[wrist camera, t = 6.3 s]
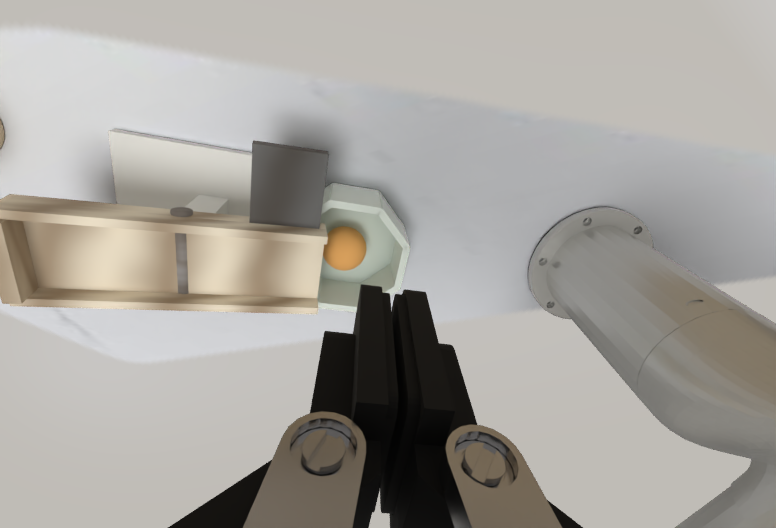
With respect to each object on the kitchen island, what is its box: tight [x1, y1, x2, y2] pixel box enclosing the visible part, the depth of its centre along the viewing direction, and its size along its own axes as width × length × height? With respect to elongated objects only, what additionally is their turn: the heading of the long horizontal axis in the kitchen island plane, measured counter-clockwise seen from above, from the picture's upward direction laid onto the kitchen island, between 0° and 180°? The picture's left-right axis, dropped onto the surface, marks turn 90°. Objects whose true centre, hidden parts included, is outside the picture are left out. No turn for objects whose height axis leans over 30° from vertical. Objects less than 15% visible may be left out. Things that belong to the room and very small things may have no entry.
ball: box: [323, 226, 366, 271], centre depth 35 cm, size 4×4×4 cm
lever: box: [0, 141, 329, 314], centre depth 27 cm, size 20×13×3 cm, turn 79°
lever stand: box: [108, 129, 252, 216], centre depth 33 cm, size 16×13×7 cm
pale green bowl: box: [317, 183, 410, 313], centre depth 35 cm, size 10×10×5 cm
